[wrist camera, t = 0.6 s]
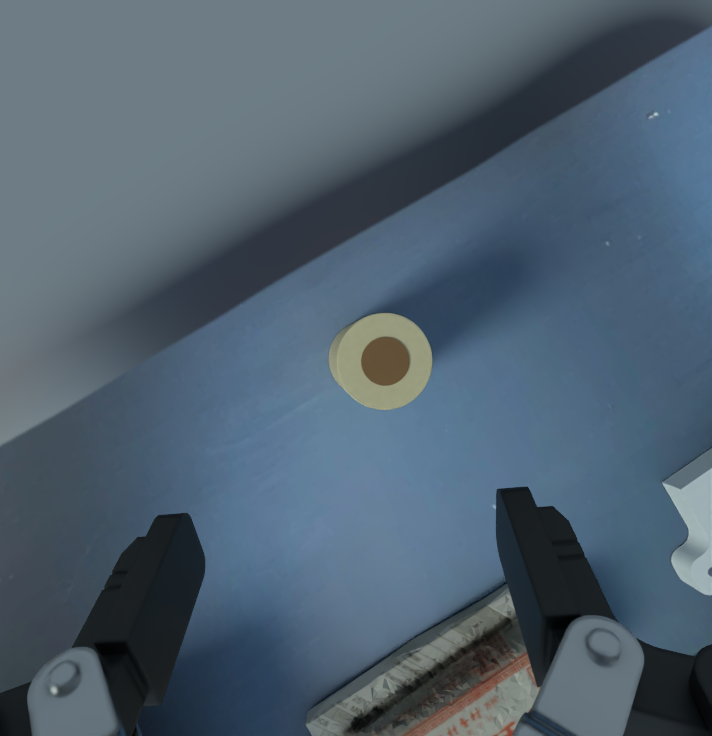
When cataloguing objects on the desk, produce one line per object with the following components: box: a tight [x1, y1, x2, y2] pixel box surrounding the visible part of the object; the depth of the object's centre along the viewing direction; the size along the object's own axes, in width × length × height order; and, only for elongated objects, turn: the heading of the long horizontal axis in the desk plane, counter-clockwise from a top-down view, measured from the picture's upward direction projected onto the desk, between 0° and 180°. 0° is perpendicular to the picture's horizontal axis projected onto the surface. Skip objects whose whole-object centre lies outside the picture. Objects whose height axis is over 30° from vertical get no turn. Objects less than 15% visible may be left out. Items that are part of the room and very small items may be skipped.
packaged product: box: [305, 584, 541, 736], centre depth 34 cm, size 18×5×10 cm
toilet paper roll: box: [329, 313, 433, 410], centre depth 31 cm, size 5×5×8 cm
